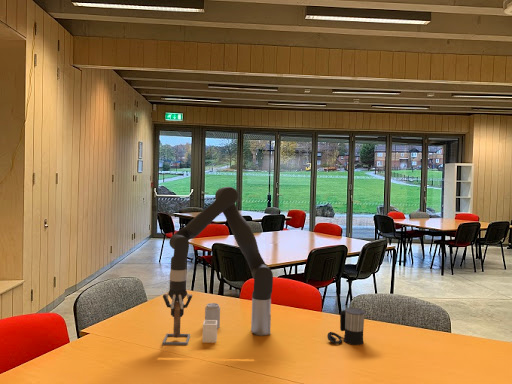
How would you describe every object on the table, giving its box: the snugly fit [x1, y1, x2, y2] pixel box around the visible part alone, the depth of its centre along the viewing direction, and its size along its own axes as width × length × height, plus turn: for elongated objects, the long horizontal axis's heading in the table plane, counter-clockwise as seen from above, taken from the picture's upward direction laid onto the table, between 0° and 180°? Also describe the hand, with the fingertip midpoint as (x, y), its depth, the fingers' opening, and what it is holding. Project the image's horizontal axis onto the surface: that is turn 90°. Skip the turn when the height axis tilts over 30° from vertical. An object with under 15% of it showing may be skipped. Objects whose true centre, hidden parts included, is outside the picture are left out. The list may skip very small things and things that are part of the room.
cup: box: [201, 319, 218, 344], centre depth 202 cm, size 6×6×9 cm
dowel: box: [172, 301, 182, 339], centre depth 201 cm, size 3×3×16 cm
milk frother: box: [327, 307, 366, 346], centre depth 207 cm, size 14×16×15 cm
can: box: [204, 302, 221, 329], centre depth 220 cm, size 8×8×12 cm
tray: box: [162, 333, 191, 347], centre depth 201 cm, size 11×11×2 cm
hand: (177, 316), depth 201 cm, fingers closed on dowel, 3 cm apart
